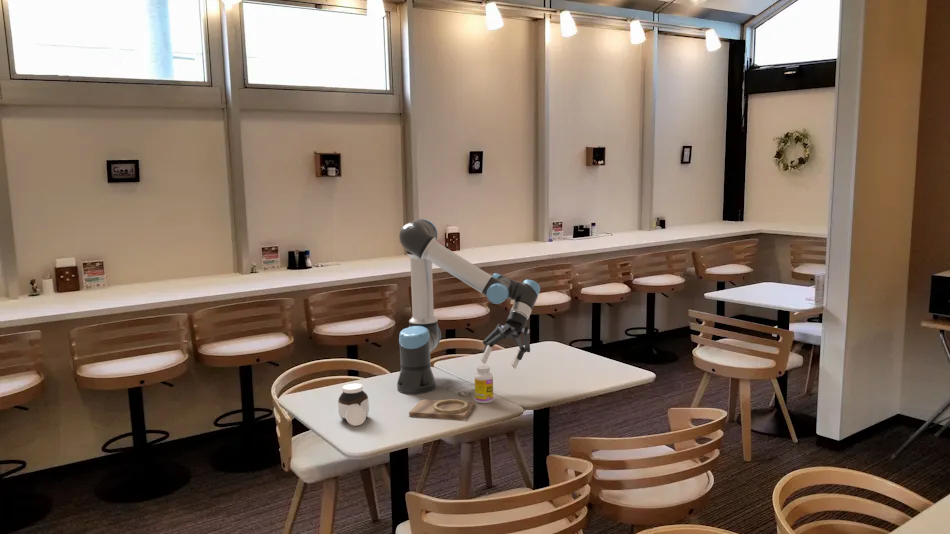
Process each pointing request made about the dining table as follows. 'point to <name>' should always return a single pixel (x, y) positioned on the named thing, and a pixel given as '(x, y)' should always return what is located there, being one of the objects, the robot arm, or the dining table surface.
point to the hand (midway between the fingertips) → (498, 364)
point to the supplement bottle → (483, 385)
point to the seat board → (442, 409)
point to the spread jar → (353, 404)
